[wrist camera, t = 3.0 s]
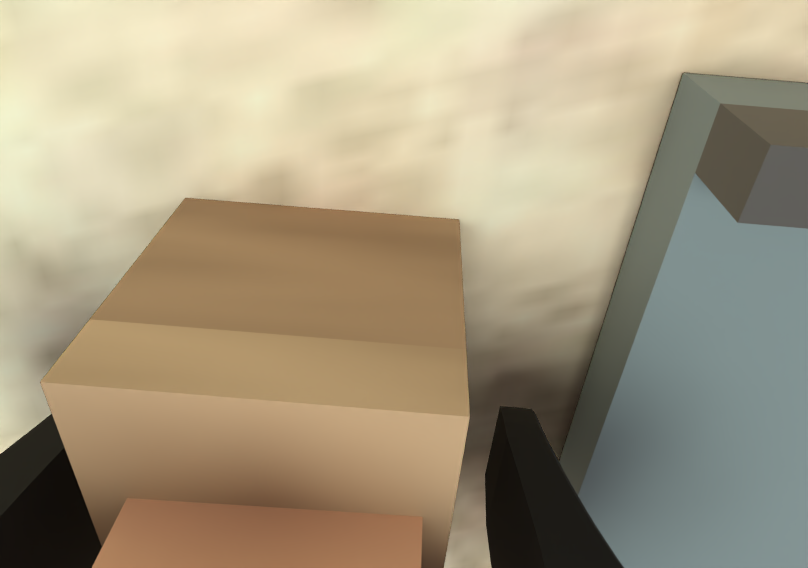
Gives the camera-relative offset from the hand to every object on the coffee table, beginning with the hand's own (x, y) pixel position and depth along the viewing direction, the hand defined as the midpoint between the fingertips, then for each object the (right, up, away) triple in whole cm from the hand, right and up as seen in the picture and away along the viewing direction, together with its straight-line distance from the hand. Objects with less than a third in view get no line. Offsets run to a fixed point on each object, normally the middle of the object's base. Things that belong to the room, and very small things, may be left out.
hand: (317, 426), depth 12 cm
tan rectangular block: (0, +1, +1) cm, 2 cm away
